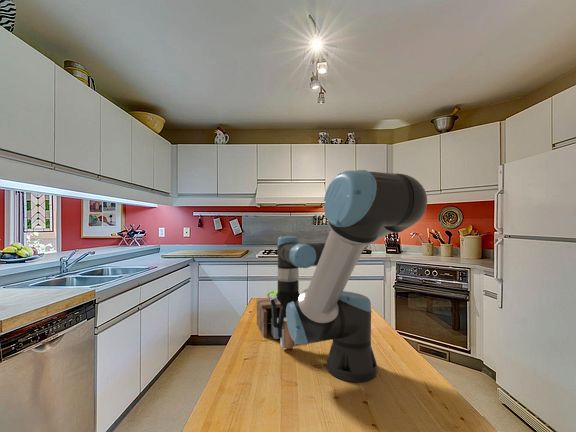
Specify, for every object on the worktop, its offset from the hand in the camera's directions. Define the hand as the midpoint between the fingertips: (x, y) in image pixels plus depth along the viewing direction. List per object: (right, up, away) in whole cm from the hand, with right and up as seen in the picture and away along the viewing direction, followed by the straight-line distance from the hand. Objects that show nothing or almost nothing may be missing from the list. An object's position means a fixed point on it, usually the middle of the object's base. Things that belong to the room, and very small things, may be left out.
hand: (288, 345), depth 103 cm
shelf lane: (-6, -2, +19) cm, 20 cm away
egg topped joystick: (-2, -1, +6) cm, 6 cm away
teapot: (-2, -2, +43) cm, 43 cm away
